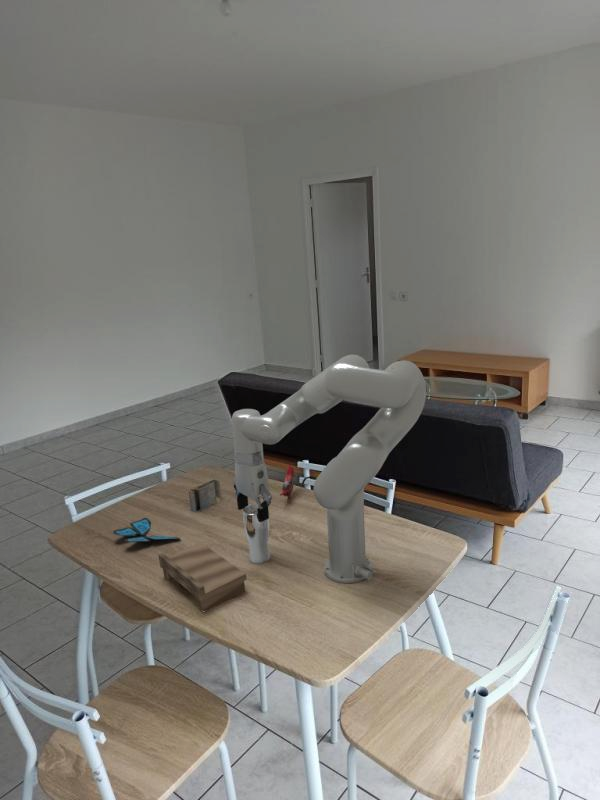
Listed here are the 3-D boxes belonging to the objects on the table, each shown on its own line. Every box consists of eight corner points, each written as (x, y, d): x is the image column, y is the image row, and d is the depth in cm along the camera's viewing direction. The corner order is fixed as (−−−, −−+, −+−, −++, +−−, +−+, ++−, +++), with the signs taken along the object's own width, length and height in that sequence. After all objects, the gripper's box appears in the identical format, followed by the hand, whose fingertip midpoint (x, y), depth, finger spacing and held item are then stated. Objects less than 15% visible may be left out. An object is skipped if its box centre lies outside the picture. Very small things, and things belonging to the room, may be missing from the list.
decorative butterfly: (105, 534, 180) (105, 525, 179) (147, 520, 190) (147, 512, 189) (138, 560, 166) (137, 551, 165) (181, 544, 175) (181, 535, 175)
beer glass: (244, 564, 160) (239, 514, 156) (250, 551, 166) (245, 503, 162) (269, 564, 159) (264, 515, 154) (274, 551, 165) (270, 503, 161)
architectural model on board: (196, 513, 193) (193, 486, 190) (191, 511, 195) (187, 484, 192) (222, 501, 201) (219, 475, 198) (216, 499, 203) (213, 473, 200)
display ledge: (247, 591, 147) (245, 567, 145) (203, 614, 140) (199, 588, 138) (203, 558, 164) (201, 536, 162) (161, 577, 156) (158, 554, 154)
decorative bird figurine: (297, 489, 204) (295, 463, 202) (285, 512, 188) (283, 484, 185) (289, 489, 205) (287, 463, 202) (277, 512, 189) (274, 484, 186)
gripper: (280, 460, 150) (283, 520, 155) (242, 444, 163) (246, 499, 168) (256, 468, 146) (260, 530, 150) (219, 451, 159) (224, 508, 163)
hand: (253, 514), depth 159 cm, fingers open, 9 cm apart
